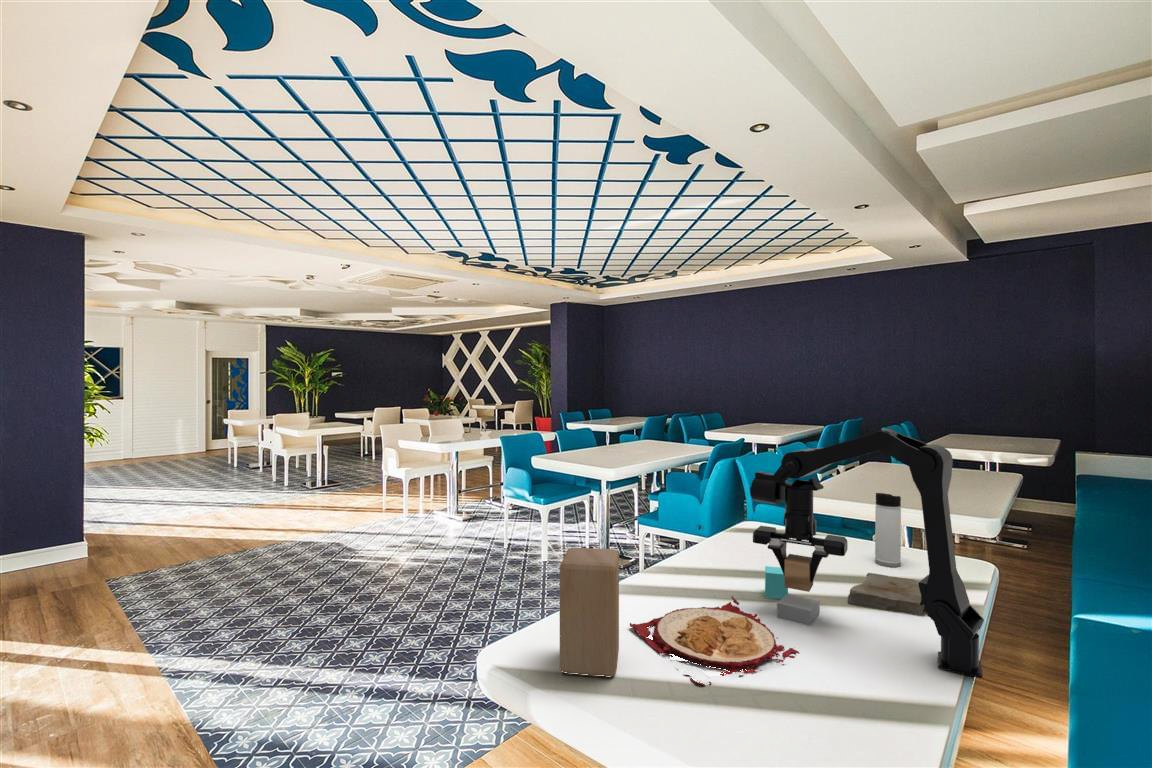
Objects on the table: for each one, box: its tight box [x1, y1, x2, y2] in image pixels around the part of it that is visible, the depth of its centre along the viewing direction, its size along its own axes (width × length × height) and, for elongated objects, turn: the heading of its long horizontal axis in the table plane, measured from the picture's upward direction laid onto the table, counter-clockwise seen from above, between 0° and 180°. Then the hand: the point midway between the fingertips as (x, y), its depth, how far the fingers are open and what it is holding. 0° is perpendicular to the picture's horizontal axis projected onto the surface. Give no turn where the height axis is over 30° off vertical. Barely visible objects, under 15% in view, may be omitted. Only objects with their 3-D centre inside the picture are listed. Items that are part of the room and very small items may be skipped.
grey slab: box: [776, 592, 821, 627], centre depth 124 cm, size 7×7×4 cm
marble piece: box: [847, 572, 925, 616], centre depth 133 cm, size 17×15×4 cm
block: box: [559, 547, 620, 677], centre depth 103 cm, size 10×10×20 cm
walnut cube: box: [785, 553, 814, 593], centre depth 124 cm, size 5×5×6 cm
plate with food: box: [629, 595, 800, 685], centre depth 112 cm, size 25×26×4 cm
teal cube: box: [764, 565, 789, 600], centre depth 136 cm, size 5×5×6 cm
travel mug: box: [874, 492, 902, 568], centre depth 158 cm, size 6×7×20 cm
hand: (798, 579), depth 124 cm, fingers closed on walnut cube, 5 cm apart
